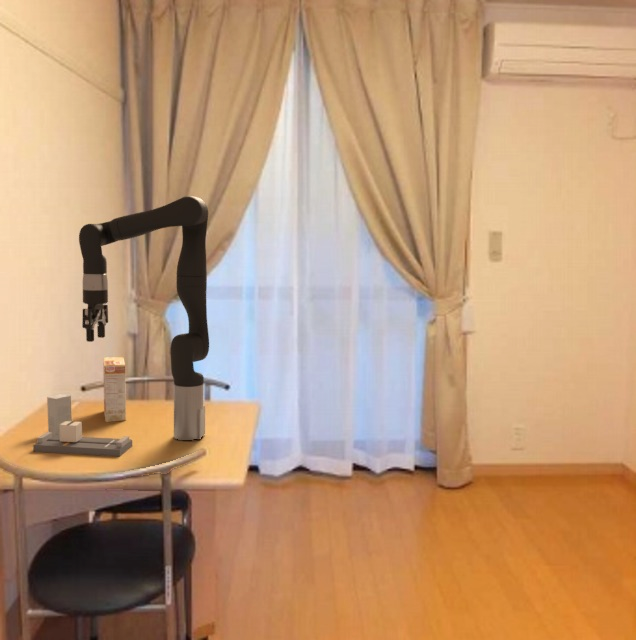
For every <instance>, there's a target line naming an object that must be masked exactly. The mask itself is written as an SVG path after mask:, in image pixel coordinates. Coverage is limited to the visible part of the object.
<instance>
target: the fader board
mask: <svg viewBox="0 0 636 640" xmlns="http://www.w3.org/2000/svg"><path fill="white" fill-rule="evenodd" d="M36 439H37V442H35V443H34V444H32V445H33V447H32V449H33V452H36V453H37V452H38V453H53V454H57V453H59V454H68V455H69V454H71V455H74V454H75V455H76V454H77V455H90V456H104V457H105V456H108V457H121V456H122V455H124V454H125V453H126V452H127V451H128V450H129V449H131V448H132V447H133V439H132V438H130V436H127V435H126V436H124V435H123V436H122V437H121V438H113V437H112V438H111V437H110V438H109V437H108V438H107V437H94V436H93V437H92V436H82V439H80V440H79V441H77V442H63V441H60V435H52V432H48V431H47V432H44V433H43V434H41V435H39V436H38V437H37V438H36Z"/></svg>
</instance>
